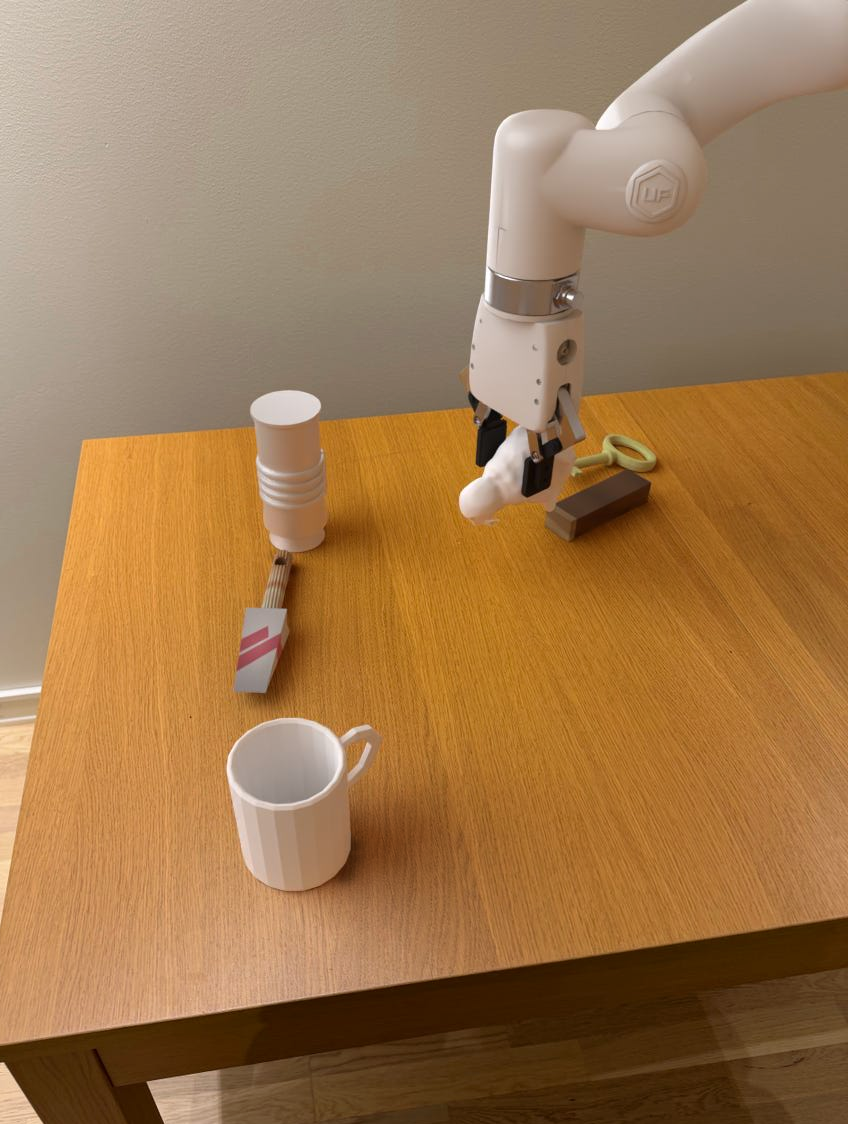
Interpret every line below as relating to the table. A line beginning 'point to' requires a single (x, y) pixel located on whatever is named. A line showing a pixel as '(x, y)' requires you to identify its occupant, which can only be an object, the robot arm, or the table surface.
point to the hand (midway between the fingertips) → (512, 474)
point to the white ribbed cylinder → (291, 469)
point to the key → (617, 456)
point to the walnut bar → (598, 504)
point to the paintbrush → (264, 631)
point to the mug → (295, 799)
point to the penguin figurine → (512, 480)
